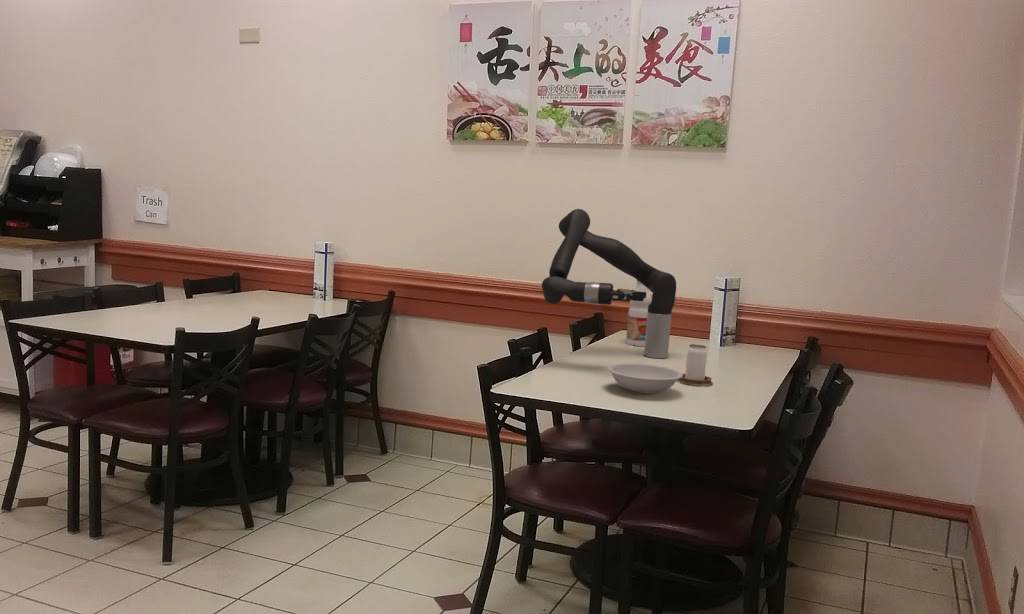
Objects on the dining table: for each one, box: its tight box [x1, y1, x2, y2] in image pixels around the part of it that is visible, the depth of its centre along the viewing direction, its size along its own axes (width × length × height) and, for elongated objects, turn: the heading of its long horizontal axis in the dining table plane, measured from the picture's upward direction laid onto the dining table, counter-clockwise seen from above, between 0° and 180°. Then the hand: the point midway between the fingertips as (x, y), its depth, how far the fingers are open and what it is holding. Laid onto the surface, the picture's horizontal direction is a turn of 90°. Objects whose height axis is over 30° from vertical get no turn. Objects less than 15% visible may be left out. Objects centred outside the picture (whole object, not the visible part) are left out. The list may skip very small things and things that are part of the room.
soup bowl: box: [606, 362, 684, 394], centre depth 267 cm, size 24×24×7 cm
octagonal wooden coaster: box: [676, 373, 714, 387], centre depth 285 cm, size 12×12×2 cm
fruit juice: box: [625, 279, 652, 347], centre depth 351 cm, size 9×9×28 cm
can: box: [684, 343, 708, 380], centre depth 284 cm, size 6×6×12 cm
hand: (644, 296), depth 290 cm, fingers open, 8 cm apart
